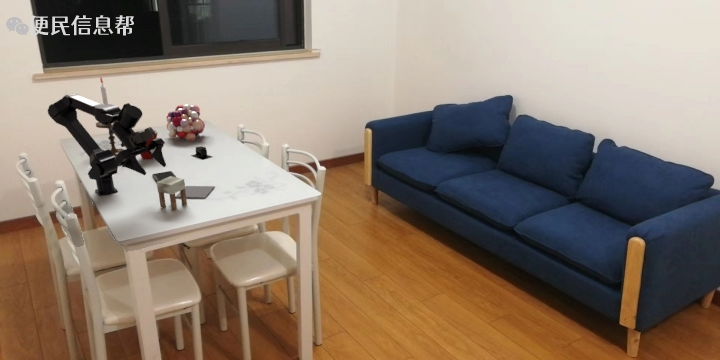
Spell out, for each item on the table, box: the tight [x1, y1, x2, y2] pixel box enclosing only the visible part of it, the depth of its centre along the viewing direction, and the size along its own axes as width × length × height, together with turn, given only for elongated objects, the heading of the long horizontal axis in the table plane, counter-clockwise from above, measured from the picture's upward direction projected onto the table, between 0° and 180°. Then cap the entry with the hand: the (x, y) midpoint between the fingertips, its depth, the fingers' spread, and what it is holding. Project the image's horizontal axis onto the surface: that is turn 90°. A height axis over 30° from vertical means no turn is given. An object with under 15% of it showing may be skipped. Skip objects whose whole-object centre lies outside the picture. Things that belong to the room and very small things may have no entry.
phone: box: [151, 170, 178, 184], centre depth 222 cm, size 8×1×15 cm
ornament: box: [166, 103, 206, 143], centre depth 274 cm, size 18×19×20 cm
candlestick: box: [95, 76, 125, 157], centre depth 249 cm, size 11×11×35 cm
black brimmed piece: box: [190, 145, 214, 161], centre depth 249 cm, size 12×7×5 cm, turn 50°
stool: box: [156, 176, 188, 211], centre depth 195 cm, size 6×6×10 cm
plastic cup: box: [135, 129, 159, 160], centre depth 247 cm, size 11×11×12 cm
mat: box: [175, 185, 216, 200], centre depth 208 cm, size 11×11×1 cm
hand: (155, 170), depth 195 cm, fingers open, 9 cm apart
